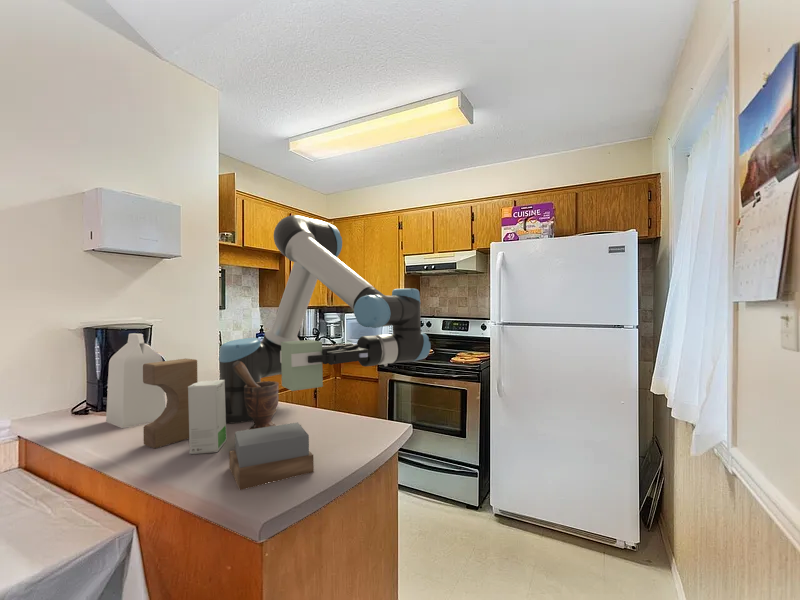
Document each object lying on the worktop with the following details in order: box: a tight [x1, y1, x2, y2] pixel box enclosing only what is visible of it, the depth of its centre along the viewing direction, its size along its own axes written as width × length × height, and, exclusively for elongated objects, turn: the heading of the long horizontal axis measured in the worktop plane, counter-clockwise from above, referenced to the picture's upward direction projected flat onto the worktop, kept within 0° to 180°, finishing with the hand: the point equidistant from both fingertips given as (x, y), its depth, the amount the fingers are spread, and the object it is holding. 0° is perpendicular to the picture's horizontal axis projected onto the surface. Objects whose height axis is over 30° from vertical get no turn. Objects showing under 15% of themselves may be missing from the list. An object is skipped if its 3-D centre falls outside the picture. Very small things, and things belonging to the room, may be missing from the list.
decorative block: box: [142, 358, 199, 449], centre depth 101 cm, size 11×6×20 cm, turn 145°
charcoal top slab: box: [234, 422, 310, 468], centre depth 82 cm, size 10×13×4 cm
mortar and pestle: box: [232, 361, 279, 430], centre depth 103 cm, size 12×9×20 cm
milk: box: [105, 333, 166, 429], centre depth 120 cm, size 12×12×26 cm
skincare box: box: [188, 379, 227, 455], centre depth 95 cm, size 8×7×16 cm
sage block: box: [281, 339, 324, 392], centre depth 90 cm, size 7×7×10 cm
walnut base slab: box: [228, 449, 315, 491], centre depth 81 cm, size 12×14×4 cm
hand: (286, 358), depth 88 cm, fingers closed on sage block, 7 cm apart
